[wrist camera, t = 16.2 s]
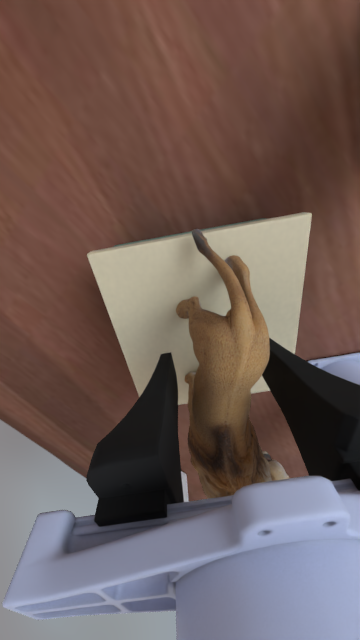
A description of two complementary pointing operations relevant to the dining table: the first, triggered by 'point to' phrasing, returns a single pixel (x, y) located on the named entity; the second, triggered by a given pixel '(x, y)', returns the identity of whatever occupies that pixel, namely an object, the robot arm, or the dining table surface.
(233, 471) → the lion figurine
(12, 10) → the dining table surface
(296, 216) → the lid
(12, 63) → the dining table surface
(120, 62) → the dining table surface
